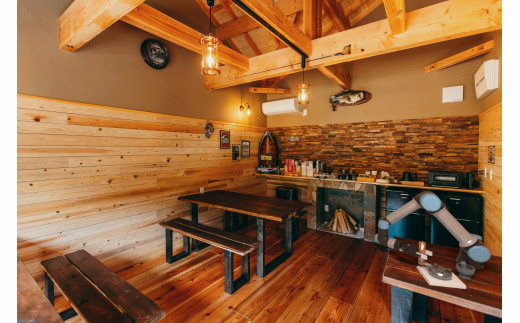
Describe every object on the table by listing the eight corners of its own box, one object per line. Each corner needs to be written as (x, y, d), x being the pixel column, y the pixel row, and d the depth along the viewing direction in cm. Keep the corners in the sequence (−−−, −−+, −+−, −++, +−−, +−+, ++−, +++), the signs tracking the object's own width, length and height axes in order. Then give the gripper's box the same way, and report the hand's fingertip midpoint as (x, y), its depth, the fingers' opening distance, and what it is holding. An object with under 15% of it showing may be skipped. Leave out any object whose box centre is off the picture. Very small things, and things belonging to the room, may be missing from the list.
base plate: (448, 271, 165) (448, 268, 164) (465, 288, 145) (466, 285, 145) (416, 268, 169) (416, 265, 169) (429, 284, 150) (429, 281, 150)
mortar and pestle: (458, 270, 165) (459, 254, 164) (476, 277, 157) (477, 260, 156) (453, 276, 159) (453, 259, 158) (470, 283, 151) (471, 265, 150)
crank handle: (455, 276, 155) (456, 249, 154) (447, 282, 148) (448, 254, 147) (422, 263, 172) (423, 239, 170) (413, 269, 165) (414, 243, 163)
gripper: (401, 245, 186) (435, 256, 168) (388, 252, 175) (422, 265, 156) (402, 236, 186) (435, 246, 167) (388, 243, 174) (423, 255, 155)
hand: (429, 255), depth 161 cm, fingers open, 8 cm apart
